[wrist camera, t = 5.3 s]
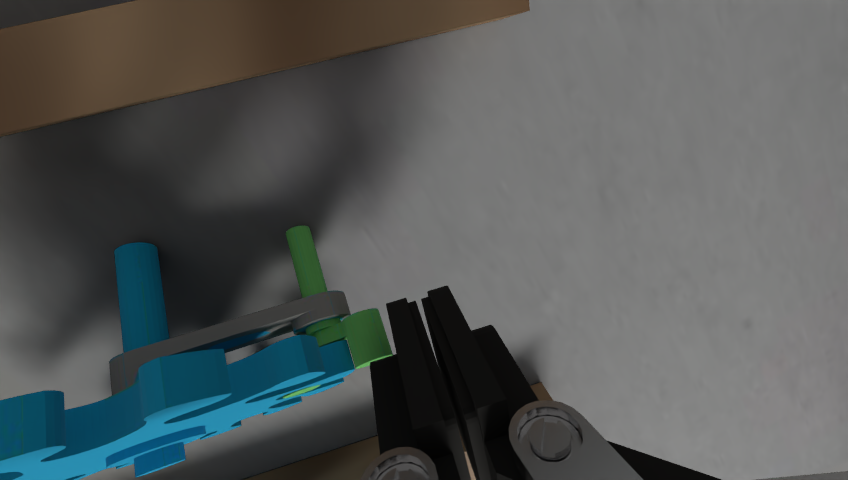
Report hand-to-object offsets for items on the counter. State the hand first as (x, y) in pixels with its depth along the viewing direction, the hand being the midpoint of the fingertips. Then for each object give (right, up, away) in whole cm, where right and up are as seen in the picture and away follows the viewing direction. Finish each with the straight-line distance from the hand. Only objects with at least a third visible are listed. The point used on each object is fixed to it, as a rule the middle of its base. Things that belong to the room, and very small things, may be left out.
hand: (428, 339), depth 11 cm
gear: (-7, 0, +3) cm, 8 cm away
